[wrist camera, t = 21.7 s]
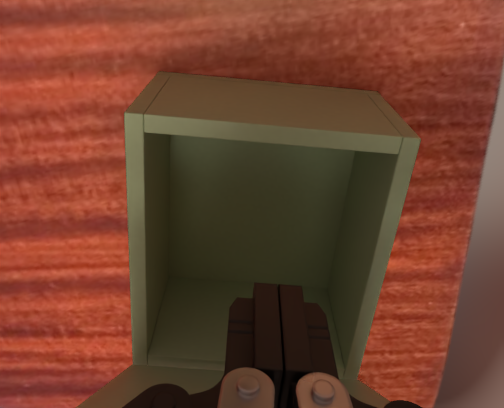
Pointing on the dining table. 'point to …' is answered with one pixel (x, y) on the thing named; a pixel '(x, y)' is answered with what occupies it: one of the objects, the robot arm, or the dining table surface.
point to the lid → (188, 385)
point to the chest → (258, 208)
